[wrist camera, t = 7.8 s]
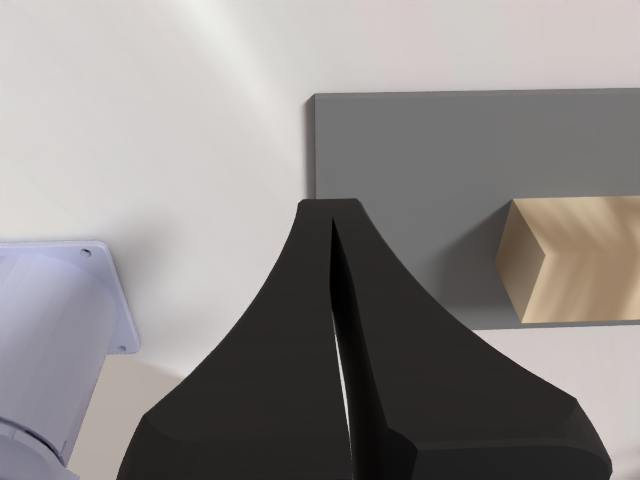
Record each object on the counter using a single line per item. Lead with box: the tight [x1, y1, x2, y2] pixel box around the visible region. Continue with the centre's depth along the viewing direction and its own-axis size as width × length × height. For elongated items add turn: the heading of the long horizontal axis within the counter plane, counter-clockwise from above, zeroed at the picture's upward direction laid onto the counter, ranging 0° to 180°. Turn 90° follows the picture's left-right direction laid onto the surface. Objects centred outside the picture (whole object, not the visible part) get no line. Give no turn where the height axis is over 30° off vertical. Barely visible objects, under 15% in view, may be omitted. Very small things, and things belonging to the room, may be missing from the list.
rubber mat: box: [315, 88, 640, 334], centre depth 25 cm, size 22×14×1 cm, turn 90°
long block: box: [494, 196, 640, 323], centre depth 24 cm, size 4×4×10 cm
